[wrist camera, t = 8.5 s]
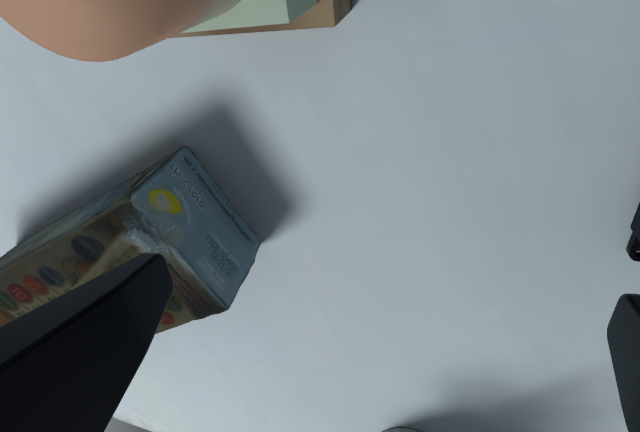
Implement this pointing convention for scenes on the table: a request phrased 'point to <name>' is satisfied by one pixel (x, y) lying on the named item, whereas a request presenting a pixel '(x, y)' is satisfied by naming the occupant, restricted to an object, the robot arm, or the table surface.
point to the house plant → (401, 430)
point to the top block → (257, 14)
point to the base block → (324, 14)
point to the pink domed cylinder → (106, 23)
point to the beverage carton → (140, 243)
